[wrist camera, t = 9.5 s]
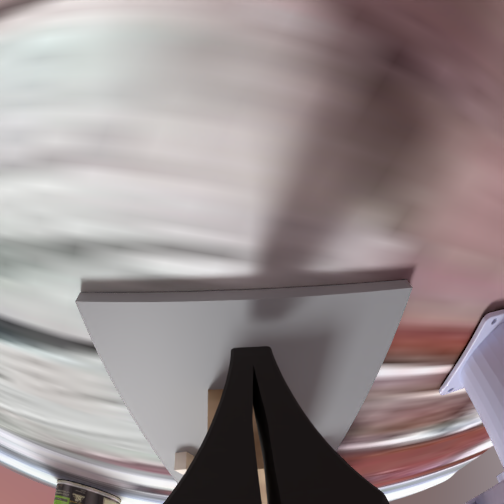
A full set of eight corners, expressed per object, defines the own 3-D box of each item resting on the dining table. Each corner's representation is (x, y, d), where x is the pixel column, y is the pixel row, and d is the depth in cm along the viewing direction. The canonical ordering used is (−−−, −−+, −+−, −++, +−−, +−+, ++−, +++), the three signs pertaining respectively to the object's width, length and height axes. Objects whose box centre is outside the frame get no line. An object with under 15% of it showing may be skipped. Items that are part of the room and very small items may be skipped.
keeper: (406, 279, 13) (482, 398, 7) (314, 478, 26) (323, 530, 21) (80, 292, 12) (21, 426, 6) (183, 486, 26) (183, 538, 20)
